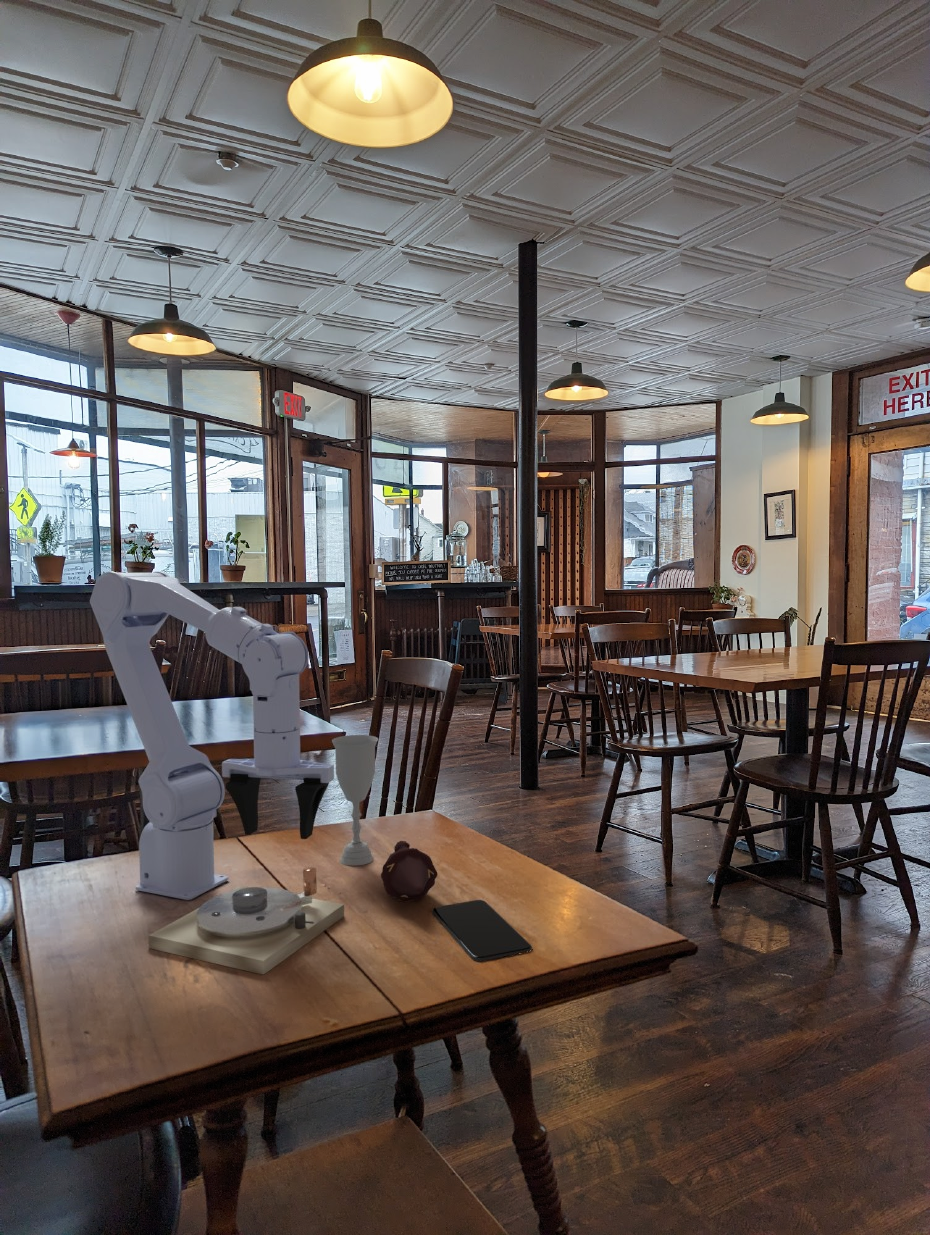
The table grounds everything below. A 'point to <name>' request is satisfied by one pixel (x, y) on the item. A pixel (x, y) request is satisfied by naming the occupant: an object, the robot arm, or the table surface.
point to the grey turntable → (255, 909)
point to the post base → (246, 939)
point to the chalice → (355, 787)
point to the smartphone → (480, 930)
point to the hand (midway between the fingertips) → (278, 834)
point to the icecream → (408, 873)
